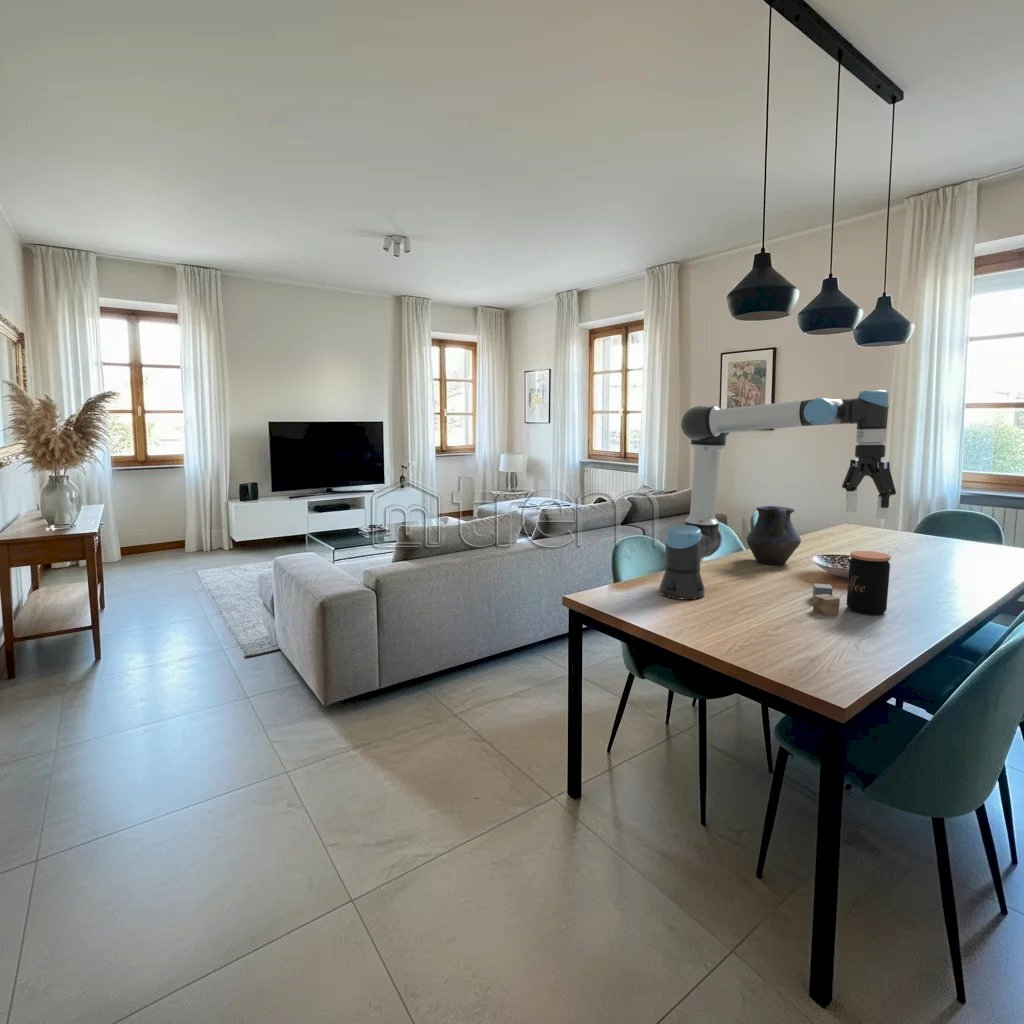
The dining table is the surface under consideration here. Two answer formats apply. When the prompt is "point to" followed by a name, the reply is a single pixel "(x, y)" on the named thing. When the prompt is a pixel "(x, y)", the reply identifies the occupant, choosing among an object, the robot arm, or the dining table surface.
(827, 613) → the walnut block
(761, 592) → the dining table surface
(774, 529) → the pitcher
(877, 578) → the coffee jar
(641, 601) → the dining table surface
